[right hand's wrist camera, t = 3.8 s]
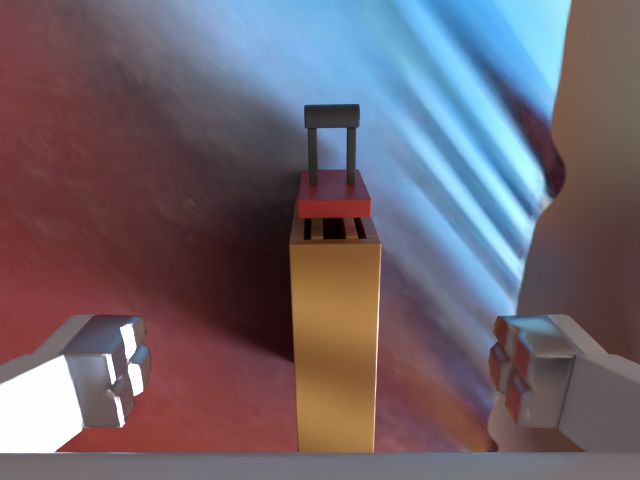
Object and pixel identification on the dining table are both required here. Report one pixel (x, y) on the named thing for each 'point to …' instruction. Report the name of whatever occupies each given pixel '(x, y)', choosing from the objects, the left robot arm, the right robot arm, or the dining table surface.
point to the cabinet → (335, 336)
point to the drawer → (332, 178)
